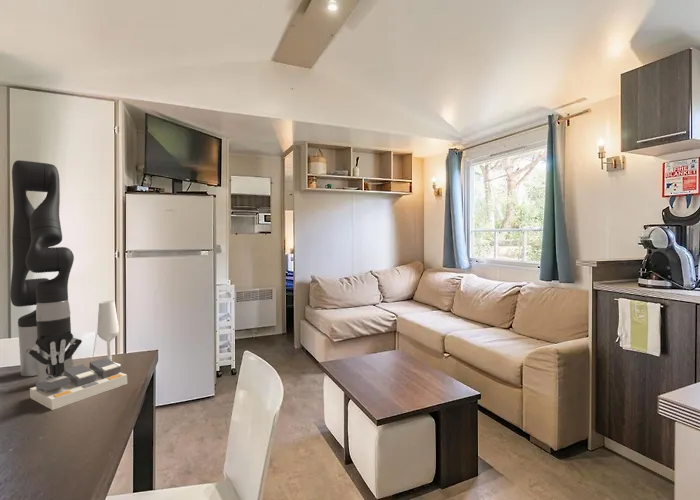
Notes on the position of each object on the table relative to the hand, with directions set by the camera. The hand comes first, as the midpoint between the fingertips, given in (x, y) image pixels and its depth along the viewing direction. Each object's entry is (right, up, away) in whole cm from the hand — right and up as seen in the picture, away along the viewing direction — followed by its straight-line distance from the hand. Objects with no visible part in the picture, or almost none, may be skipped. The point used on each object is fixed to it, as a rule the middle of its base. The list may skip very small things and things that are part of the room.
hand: (56, 376), depth 104 cm
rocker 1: (-3, -3, +2) cm, 4 cm away
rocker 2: (+5, -2, +14) cm, 15 cm away
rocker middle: (+1, -2, +8) cm, 8 cm away
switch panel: (+1, -7, +8) cm, 11 cm away
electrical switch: (-13, -7, +15) cm, 22 cm away
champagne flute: (-3, -7, +28) cm, 29 cm away
